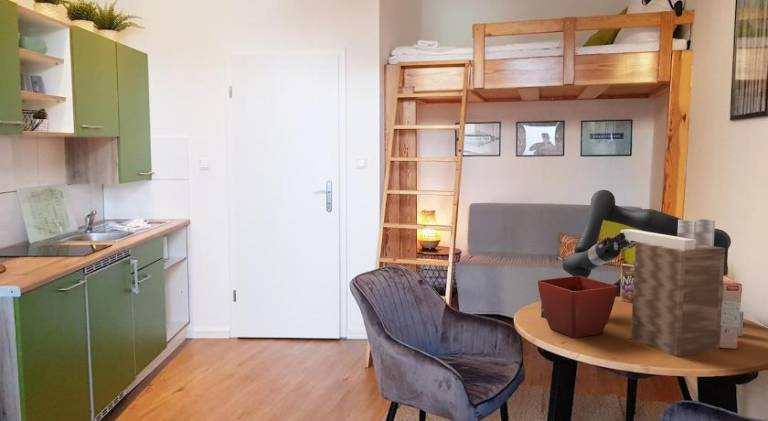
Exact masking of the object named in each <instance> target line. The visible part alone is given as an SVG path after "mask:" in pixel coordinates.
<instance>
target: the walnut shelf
mask: <svg viewBox="0 0 768 421" xmlns="http://www.w3.org/2000/svg"><path fill="white" fill-rule="evenodd" d="M715 229H716V220H715V219H714V220H713V219H712V220H711V219H705V218H696V221H693V220H686V219H683V220H678V233H677V237H682V238H688V239H695V238H696V239H695V240H696V247H695V250H679V249H674V248H669V247H663V246H658V245H653V244H647V243H642V242H637V243H635V246H634V264H633V265H634V287H633V303H632V311H631V312H632V313H631V331H630V332H631V334H630V337H631V340H633V341H636V342H638V343H641V344H643V345H646V346H649V347H651V348H653V349H656V350H659V351H661V352H664V353H667V354H669V355H671V356H674V357H682V356H688V355H689V356H690V355H695V354H700V353H701V354H702V353H706V352H707V353H708V352H714V351H719V350H720V348H719V342H720V325H721V308H722V292H723V275H724V259H725V248H722V247H716V246H714V231H715Z"/></svg>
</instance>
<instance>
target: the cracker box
mask: <svg viewBox="0 0 768 421" xmlns="http://www.w3.org/2000/svg"><path fill="white" fill-rule="evenodd" d="M742 291H743V284H742V283H740V282H738V281H735V280H734V279H731V278H729V277H726V276H723V292H722V308H721V325H720V342H719V349H720V348H721V349H731V350H732V349H733V350H737V349H739V348H738V346H739V336H738V334H739V321H740V309H741V306H742V305H741V303H742Z"/></svg>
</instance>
